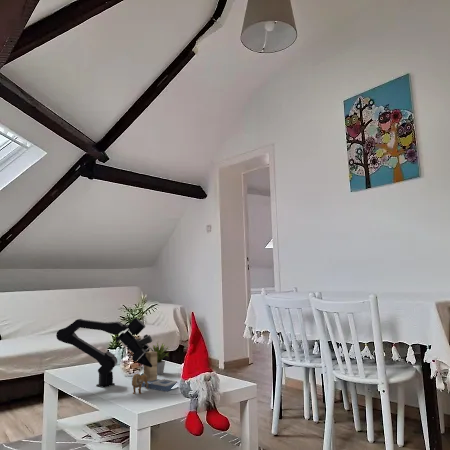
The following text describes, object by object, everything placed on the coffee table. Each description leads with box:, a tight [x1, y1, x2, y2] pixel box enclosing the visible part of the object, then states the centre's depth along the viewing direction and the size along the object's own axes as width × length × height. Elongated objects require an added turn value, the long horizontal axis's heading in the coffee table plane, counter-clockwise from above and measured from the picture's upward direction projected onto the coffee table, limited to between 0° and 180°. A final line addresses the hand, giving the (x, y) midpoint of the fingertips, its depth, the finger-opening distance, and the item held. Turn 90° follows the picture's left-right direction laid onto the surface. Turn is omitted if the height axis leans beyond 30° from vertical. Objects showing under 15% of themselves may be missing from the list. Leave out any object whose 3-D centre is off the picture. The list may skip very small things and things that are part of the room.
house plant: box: [149, 342, 173, 375], centre depth 218 cm, size 14×14×16 cm
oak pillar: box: [143, 350, 158, 381], centre depth 196 cm, size 4×4×13 cm
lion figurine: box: [131, 373, 150, 395], centre depth 182 cm, size 15×5×9 cm, turn 176°
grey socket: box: [153, 378, 178, 387], centre depth 188 cm, size 8×8×1 cm
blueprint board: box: [141, 378, 176, 392], centre depth 190 cm, size 19×9×2 cm, turn 56°
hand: (153, 364), depth 196 cm, fingers open, 9 cm apart
